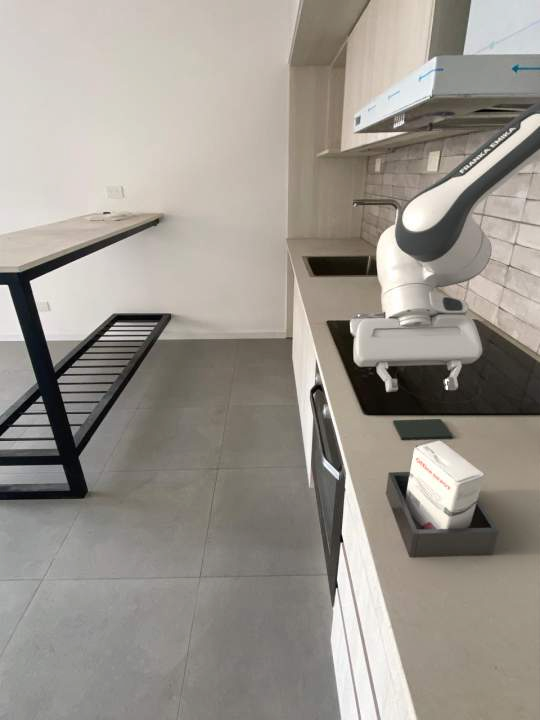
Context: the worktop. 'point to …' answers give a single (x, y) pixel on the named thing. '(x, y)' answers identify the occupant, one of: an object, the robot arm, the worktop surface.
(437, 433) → the mat
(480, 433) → the worktop surface
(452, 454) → the ink box
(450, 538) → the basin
